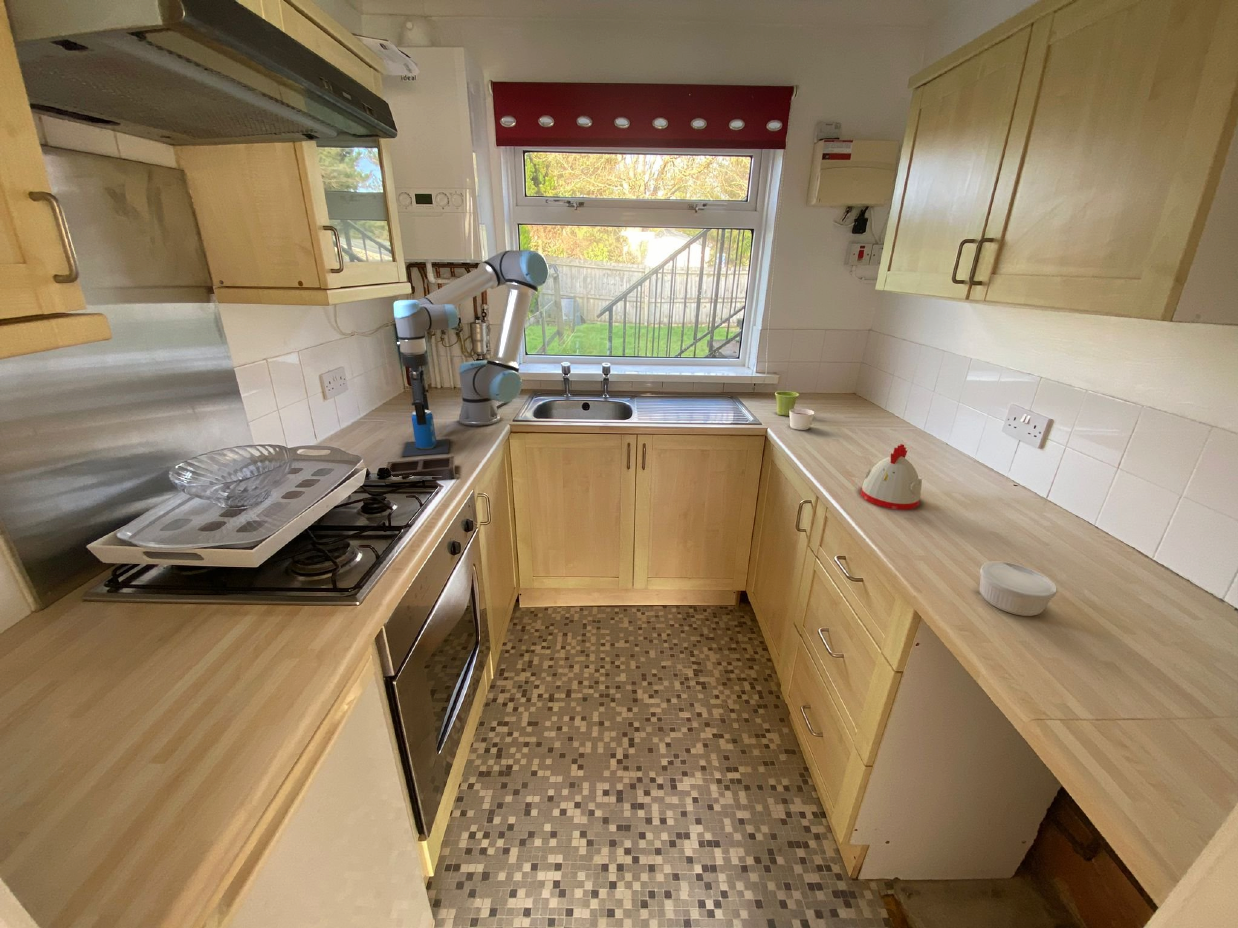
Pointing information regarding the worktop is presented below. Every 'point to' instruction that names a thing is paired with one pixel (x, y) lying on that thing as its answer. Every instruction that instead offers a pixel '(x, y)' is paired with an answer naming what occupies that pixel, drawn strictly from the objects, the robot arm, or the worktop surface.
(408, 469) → the can caddy
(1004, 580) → the ramekin
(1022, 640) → the worktop surface
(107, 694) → the worktop surface
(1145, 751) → the worktop surface
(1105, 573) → the worktop surface
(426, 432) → the beverage can
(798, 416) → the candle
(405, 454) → the mat
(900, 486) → the kitchen timer
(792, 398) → the plant pot
